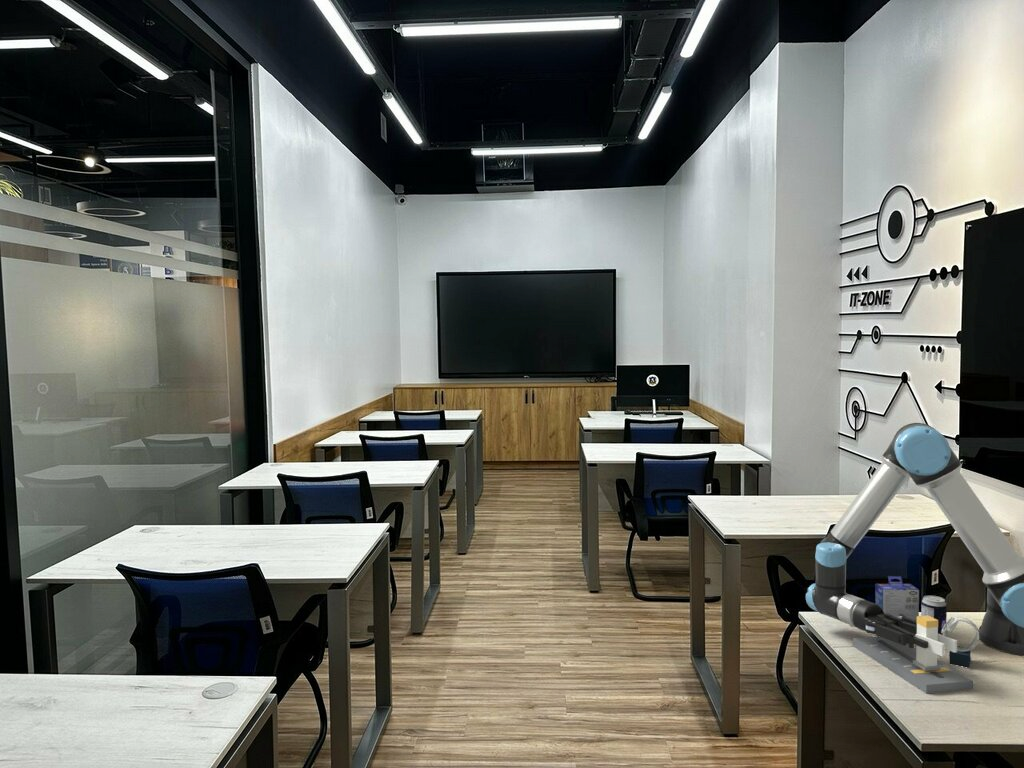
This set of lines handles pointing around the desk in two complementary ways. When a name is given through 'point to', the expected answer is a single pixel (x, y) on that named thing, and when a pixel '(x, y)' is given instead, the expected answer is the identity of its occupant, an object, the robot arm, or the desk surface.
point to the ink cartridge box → (898, 598)
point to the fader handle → (924, 657)
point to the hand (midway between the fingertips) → (949, 648)
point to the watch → (963, 653)
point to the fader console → (912, 666)
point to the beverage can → (935, 610)
